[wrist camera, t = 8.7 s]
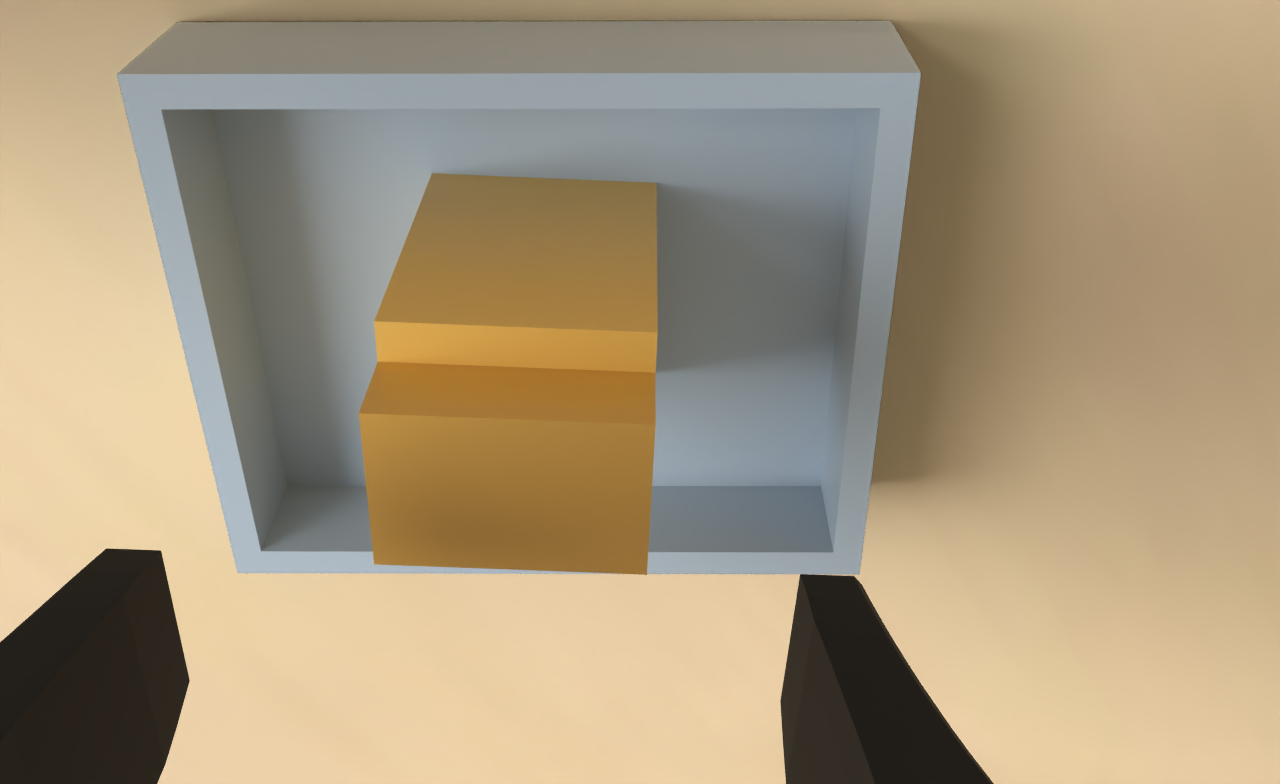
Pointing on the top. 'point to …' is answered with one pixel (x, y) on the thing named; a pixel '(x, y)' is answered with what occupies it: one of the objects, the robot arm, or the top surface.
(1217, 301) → the top surface
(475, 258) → the block
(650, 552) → the parts tray
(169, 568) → the top surface
